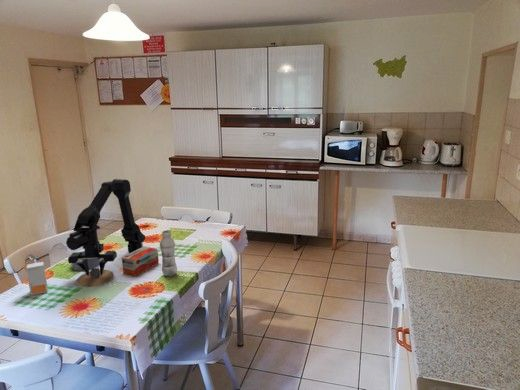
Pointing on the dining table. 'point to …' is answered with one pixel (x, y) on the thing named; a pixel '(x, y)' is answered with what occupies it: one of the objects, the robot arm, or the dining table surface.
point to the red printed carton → (140, 260)
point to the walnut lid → (95, 278)
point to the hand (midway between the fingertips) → (95, 275)
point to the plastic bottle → (168, 254)
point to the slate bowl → (91, 263)
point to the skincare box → (37, 278)
